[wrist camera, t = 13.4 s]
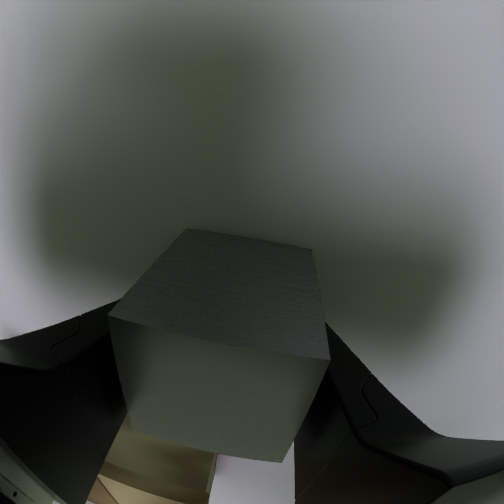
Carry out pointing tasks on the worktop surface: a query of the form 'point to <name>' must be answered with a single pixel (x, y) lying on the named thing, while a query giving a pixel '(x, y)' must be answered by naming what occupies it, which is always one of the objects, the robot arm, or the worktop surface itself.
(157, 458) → the box
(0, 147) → the worktop surface
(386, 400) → the robot arm
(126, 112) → the worktop surface
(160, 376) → the block
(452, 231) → the worktop surface
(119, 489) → the lid
